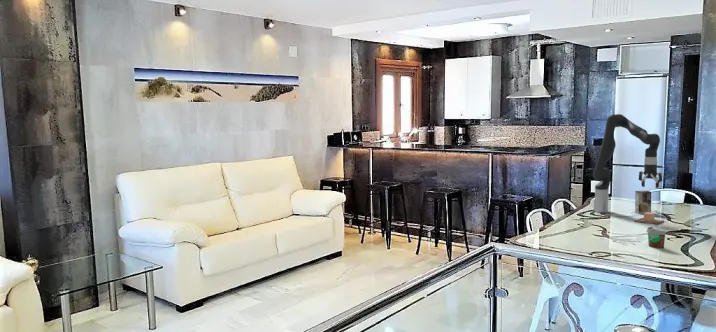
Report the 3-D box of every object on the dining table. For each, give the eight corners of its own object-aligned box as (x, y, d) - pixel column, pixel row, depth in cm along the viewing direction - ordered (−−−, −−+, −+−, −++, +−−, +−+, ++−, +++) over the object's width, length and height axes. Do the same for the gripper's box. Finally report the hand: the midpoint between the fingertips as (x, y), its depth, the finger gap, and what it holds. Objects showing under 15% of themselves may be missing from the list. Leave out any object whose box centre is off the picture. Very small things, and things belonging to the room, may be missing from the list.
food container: (641, 244, 308) (641, 226, 307) (651, 243, 309) (651, 226, 308) (655, 249, 296) (655, 231, 295) (665, 248, 297) (666, 231, 295)
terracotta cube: (643, 220, 364) (643, 213, 363) (646, 219, 367) (647, 212, 366) (651, 221, 360) (651, 214, 359) (654, 220, 363) (654, 213, 363)
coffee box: (647, 212, 396) (647, 190, 394) (651, 213, 390) (651, 191, 388) (634, 212, 397) (635, 190, 395) (638, 213, 391) (638, 192, 389)
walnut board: (634, 221, 365) (634, 220, 365) (642, 219, 373) (642, 217, 373) (656, 224, 354) (656, 223, 354) (664, 222, 362) (664, 220, 362)
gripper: (637, 163, 362) (636, 187, 364) (659, 164, 351) (659, 189, 353) (642, 162, 367) (641, 185, 369) (664, 163, 356) (663, 187, 358)
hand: (650, 187), depth 361 cm, fingers open, 8 cm apart
